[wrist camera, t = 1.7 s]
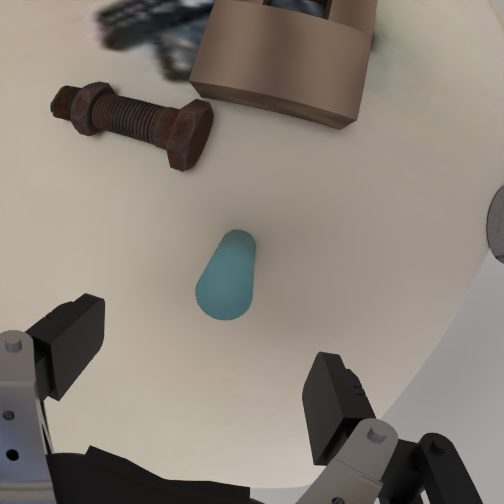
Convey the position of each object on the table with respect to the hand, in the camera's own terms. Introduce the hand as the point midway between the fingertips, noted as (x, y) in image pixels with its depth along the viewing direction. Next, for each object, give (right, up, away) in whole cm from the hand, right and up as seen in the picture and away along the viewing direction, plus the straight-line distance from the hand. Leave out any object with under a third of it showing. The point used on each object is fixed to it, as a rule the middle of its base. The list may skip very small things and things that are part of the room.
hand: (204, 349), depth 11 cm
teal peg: (0, +4, +16) cm, 17 cm away
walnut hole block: (+6, +25, +11) cm, 28 cm away
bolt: (-9, +16, +14) cm, 23 cm away
